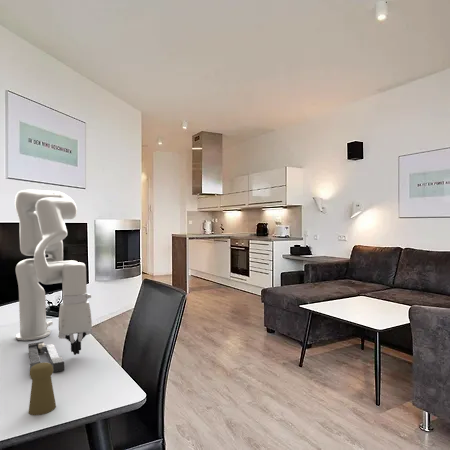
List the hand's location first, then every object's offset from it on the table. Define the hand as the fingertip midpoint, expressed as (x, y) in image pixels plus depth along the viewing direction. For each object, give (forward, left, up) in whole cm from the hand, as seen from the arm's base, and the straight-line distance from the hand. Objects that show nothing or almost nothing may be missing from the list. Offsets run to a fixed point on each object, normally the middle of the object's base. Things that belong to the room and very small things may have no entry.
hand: (76, 353), depth 123 cm
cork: (+32, +12, -2) cm, 35 cm away
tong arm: (+4, -7, -1) cm, 8 cm away
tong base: (+5, -10, -2) cm, 12 cm away
